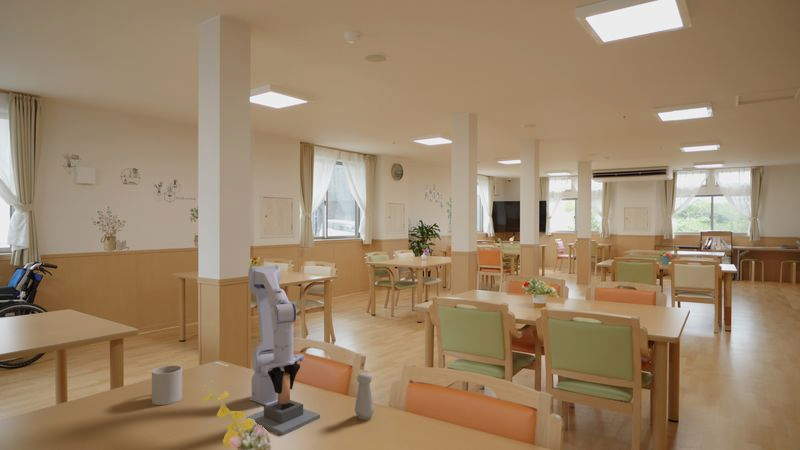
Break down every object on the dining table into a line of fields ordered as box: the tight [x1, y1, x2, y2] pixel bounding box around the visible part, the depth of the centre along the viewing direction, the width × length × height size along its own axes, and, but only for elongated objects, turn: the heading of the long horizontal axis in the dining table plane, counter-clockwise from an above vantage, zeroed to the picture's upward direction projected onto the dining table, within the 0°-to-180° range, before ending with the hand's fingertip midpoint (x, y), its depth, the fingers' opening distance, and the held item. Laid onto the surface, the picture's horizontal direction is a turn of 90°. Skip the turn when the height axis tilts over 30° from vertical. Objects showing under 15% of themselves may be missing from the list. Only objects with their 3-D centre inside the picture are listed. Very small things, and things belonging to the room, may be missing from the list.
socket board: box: [246, 399, 321, 436], centre depth 134 cm, size 16×14×4 cm
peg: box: [278, 372, 291, 404], centre depth 134 cm, size 4×4×8 cm
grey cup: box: [151, 364, 183, 406], centre depth 150 cm, size 11×10×10 cm
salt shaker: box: [354, 371, 375, 421], centre depth 135 cm, size 6×6×13 cm
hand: (283, 390), depth 134 cm, fingers closed on peg, 3 cm apart
